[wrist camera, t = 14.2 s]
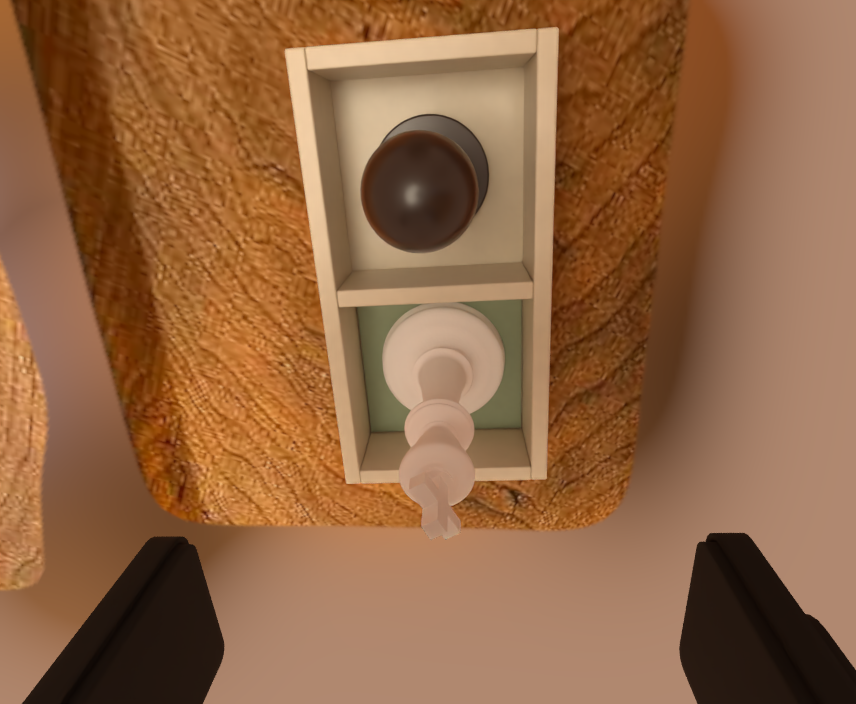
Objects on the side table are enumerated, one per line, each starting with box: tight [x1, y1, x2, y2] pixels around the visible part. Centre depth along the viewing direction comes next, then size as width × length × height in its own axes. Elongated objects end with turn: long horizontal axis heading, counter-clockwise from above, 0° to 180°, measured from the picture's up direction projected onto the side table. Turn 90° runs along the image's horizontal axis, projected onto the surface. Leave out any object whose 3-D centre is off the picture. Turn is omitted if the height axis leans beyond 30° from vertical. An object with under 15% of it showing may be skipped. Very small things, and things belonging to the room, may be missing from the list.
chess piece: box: [382, 302, 505, 540], centre depth 16 cm, size 5×5×10 cm
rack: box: [285, 27, 559, 484], centre depth 19 cm, size 8×15×4 cm, turn 4°
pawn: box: [360, 114, 489, 253], centre depth 15 cm, size 4×4×8 cm
